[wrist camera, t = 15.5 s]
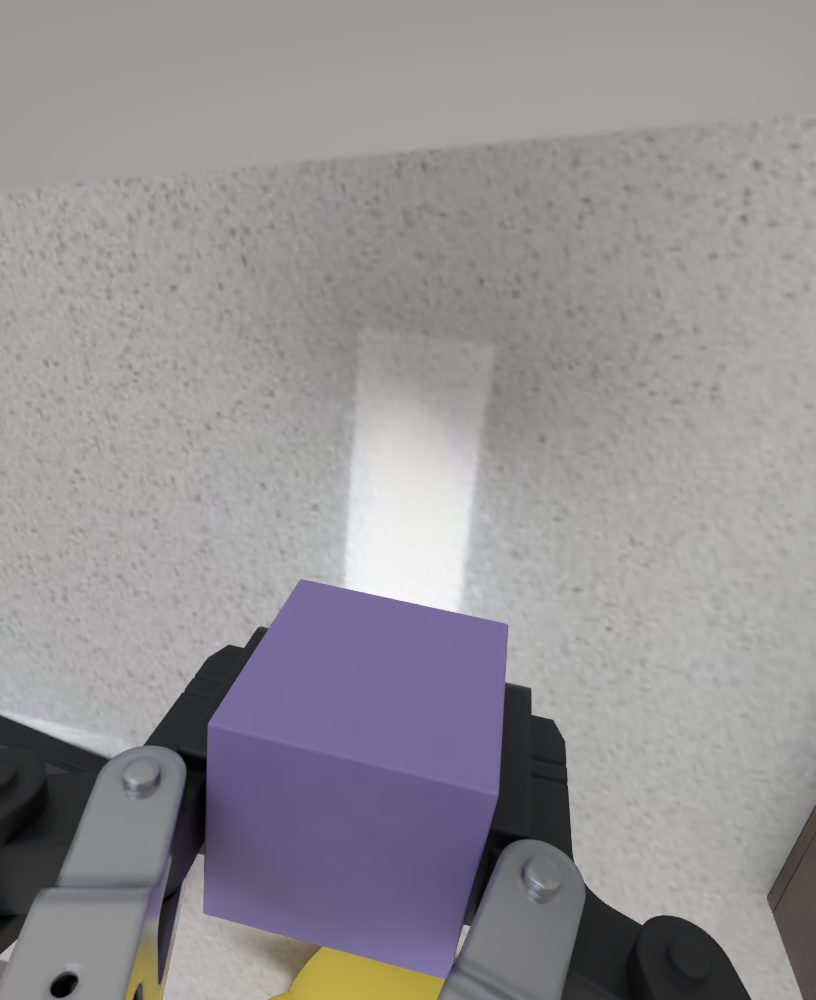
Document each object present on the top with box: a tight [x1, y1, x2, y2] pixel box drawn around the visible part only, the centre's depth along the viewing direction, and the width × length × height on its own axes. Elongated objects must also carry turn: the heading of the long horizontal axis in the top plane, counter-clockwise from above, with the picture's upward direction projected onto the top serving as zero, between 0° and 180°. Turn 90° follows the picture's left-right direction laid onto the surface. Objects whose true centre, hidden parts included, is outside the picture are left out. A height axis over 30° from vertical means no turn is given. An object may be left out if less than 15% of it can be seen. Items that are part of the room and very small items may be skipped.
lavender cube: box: [203, 579, 508, 979], centre depth 12 cm, size 4×4×4 cm
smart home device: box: [0, 717, 109, 774], centre depth 39 cm, size 8×2×20 cm
